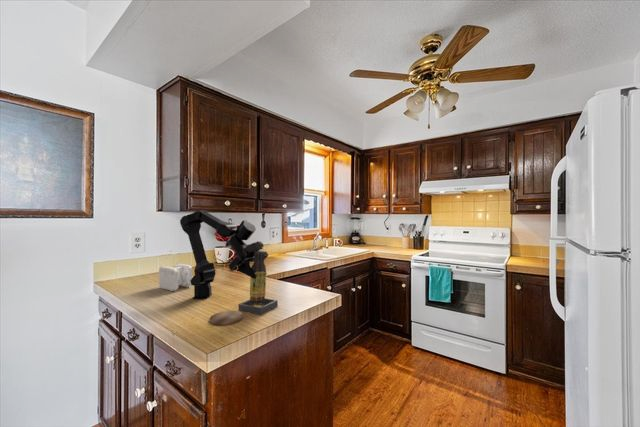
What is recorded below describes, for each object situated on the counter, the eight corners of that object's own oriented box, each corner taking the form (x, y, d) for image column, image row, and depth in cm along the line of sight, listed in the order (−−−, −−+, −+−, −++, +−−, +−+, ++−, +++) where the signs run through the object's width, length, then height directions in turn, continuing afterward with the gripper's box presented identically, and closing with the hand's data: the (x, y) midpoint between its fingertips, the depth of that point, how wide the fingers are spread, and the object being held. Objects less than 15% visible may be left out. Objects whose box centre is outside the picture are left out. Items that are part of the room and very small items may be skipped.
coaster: (204, 325, 96) (204, 323, 96) (216, 312, 108) (216, 310, 108) (238, 325, 96) (238, 323, 96) (247, 312, 108) (247, 310, 108)
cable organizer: (193, 287, 143) (193, 265, 143) (173, 293, 134) (173, 269, 134) (177, 283, 151) (177, 262, 151) (157, 288, 142) (157, 266, 142)
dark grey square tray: (238, 310, 111) (238, 304, 111) (256, 302, 120) (256, 296, 120) (260, 315, 106) (260, 308, 106) (277, 306, 115) (277, 300, 115)
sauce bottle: (251, 303, 109) (251, 252, 108) (248, 298, 114) (248, 250, 114) (268, 300, 112) (267, 251, 111) (263, 296, 117) (263, 249, 117)
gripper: (234, 236, 106) (256, 268, 101) (265, 233, 123) (285, 260, 118) (219, 255, 110) (240, 286, 105) (251, 249, 127) (270, 276, 122)
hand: (260, 276), depth 112 cm, fingers closed on sauce bottle, 6 cm apart
